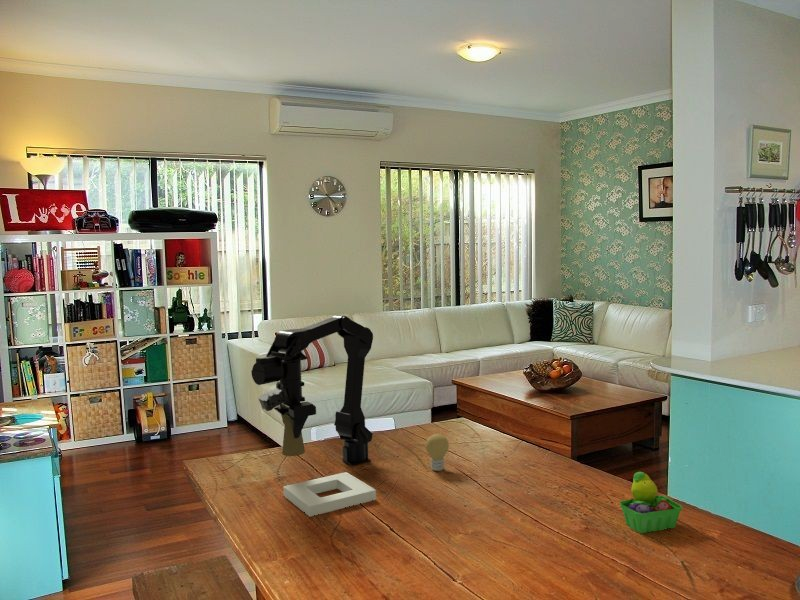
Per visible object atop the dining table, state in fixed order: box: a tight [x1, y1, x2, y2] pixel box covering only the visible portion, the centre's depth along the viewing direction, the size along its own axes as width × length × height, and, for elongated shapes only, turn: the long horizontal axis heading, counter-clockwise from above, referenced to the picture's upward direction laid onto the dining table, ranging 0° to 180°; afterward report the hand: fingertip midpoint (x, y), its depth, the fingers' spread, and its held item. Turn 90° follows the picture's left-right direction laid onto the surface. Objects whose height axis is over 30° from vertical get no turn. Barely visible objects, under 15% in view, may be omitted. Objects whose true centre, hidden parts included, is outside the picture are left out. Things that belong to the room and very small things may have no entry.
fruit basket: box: [619, 471, 683, 534], centre depth 149 cm, size 11×9×11 cm
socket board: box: [282, 471, 377, 518], centre depth 170 cm, size 18×16×2 cm
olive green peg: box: [281, 412, 306, 457], centre depth 180 cm, size 6×6×11 cm
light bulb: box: [425, 433, 450, 472], centre depth 188 cm, size 6×6×10 cm
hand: (292, 435), depth 180 cm, fingers closed on olive green peg, 4 cm apart
